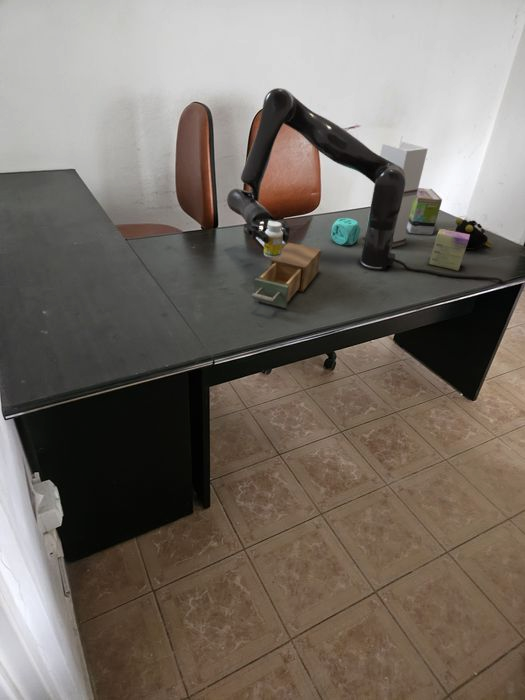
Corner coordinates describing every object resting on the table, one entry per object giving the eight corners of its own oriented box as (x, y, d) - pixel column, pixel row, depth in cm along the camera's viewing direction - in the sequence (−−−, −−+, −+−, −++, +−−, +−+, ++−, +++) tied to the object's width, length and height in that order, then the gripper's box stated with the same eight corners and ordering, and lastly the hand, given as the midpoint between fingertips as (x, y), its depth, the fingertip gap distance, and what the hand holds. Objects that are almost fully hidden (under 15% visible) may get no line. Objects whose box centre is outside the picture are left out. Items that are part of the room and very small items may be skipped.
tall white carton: (404, 243, 185) (427, 148, 164) (385, 248, 179) (406, 151, 159) (383, 233, 192) (402, 141, 172) (364, 238, 187) (382, 143, 167)
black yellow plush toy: (484, 263, 182) (492, 234, 170) (446, 255, 188) (451, 226, 176) (494, 242, 187) (501, 213, 174) (456, 234, 193) (461, 205, 181)
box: (460, 265, 171) (470, 233, 164) (458, 271, 166) (468, 239, 159) (431, 258, 174) (439, 227, 167) (428, 264, 170) (437, 233, 163)
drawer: (278, 316, 133) (279, 295, 129) (245, 308, 136) (246, 287, 132) (302, 287, 148) (304, 268, 144) (272, 280, 151) (273, 260, 147)
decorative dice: (346, 247, 178) (350, 227, 174) (329, 241, 183) (332, 221, 178) (358, 242, 183) (361, 222, 179) (341, 236, 188) (344, 216, 183)
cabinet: (302, 292, 148) (305, 267, 143) (268, 283, 151) (270, 259, 146) (317, 272, 159) (321, 249, 155) (286, 265, 163) (288, 242, 158)
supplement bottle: (284, 257, 140) (287, 226, 135) (267, 259, 138) (269, 228, 133) (276, 250, 144) (279, 219, 139) (260, 252, 142) (262, 221, 137)
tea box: (433, 235, 194) (443, 199, 185) (408, 233, 193) (417, 197, 185) (423, 222, 206) (432, 187, 197) (400, 220, 206) (408, 186, 197)
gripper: (278, 228, 153) (298, 249, 140) (235, 231, 149) (252, 253, 136) (280, 205, 149) (301, 224, 136) (236, 208, 144) (253, 228, 132)
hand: (276, 239), depth 136 cm, fingers closed on supplement bottle, 5 cm apart
